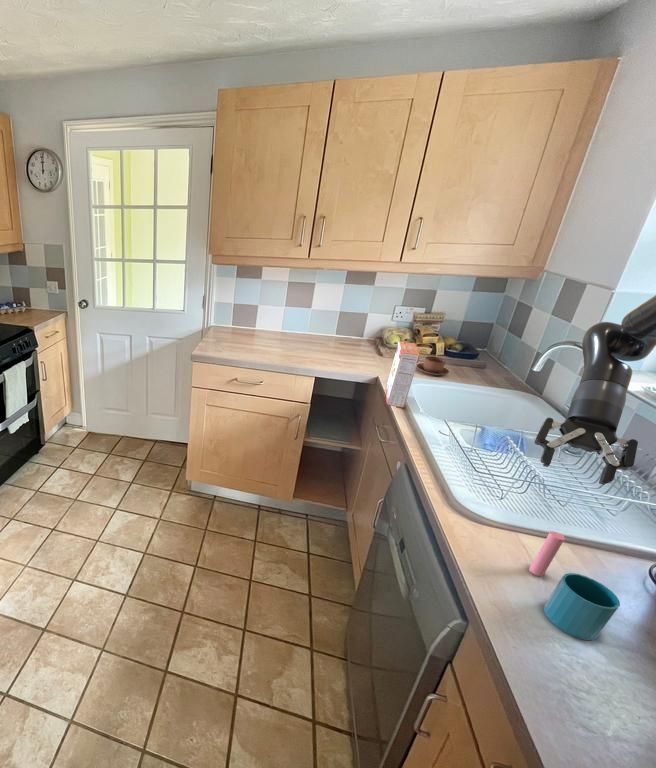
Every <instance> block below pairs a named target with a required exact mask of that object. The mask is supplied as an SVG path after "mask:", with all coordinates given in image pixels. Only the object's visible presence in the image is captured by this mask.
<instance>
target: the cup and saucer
mask: <svg viewBox="0 0 656 768" xmlns="http://www.w3.org/2000/svg"><path fill="white" fill-rule="evenodd" d="M445 364H446V360H445V358H442V357H438V356H426V357H425V358H424V362H422V363H421V362H420V363H417V366H416V369H418V370H419V371H420V372H421V373H425V374H427V375H431V376H447V375H448V374H449V373H450V370H449V369H447V368H446V367H445Z"/></svg>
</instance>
